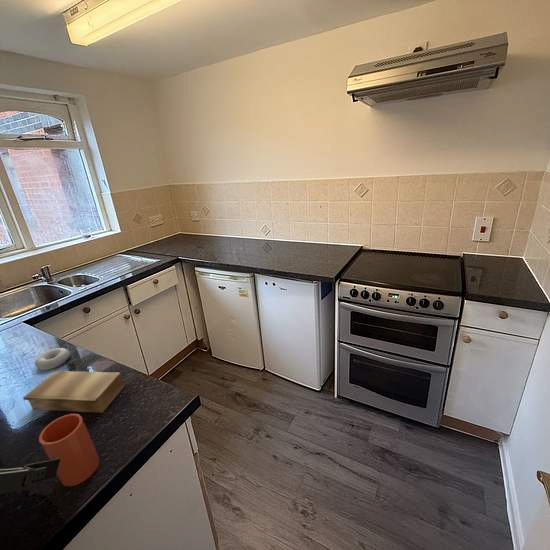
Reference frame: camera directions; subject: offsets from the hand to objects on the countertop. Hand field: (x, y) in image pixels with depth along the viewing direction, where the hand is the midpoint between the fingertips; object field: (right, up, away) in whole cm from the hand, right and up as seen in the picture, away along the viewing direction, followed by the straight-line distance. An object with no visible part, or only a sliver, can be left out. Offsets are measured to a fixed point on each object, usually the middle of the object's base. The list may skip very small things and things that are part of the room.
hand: (23, 464), depth 53 cm
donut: (-32, +3, +51) cm, 60 cm away
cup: (+2, -9, +12) cm, 15 cm away
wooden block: (-12, -2, +33) cm, 35 cm away
